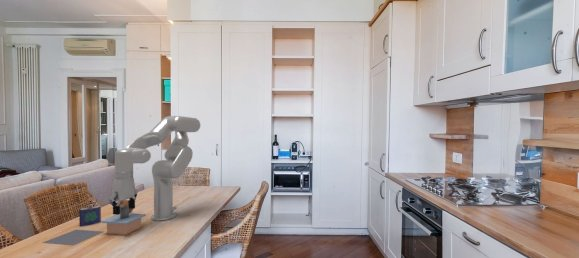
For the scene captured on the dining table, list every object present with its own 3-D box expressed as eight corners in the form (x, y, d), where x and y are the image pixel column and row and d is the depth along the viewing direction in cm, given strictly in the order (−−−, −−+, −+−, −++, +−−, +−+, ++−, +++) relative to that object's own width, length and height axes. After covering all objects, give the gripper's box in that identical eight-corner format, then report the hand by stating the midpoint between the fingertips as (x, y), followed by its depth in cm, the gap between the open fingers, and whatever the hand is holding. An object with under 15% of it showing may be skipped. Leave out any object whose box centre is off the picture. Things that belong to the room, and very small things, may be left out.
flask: (100, 222, 149) (100, 202, 149) (101, 223, 147) (101, 203, 147) (78, 226, 142) (78, 205, 142) (80, 228, 140) (80, 206, 140)
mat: (76, 230, 137) (76, 229, 137) (104, 232, 134) (104, 231, 134) (41, 244, 121) (41, 242, 121) (73, 246, 118) (73, 245, 118)
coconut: (119, 223, 157) (112, 209, 152) (116, 214, 164) (109, 201, 159) (137, 214, 162) (131, 200, 157) (134, 206, 169) (127, 193, 164)
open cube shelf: (123, 227, 141) (123, 215, 141) (140, 228, 140) (140, 216, 139) (106, 234, 131) (106, 221, 131) (125, 236, 130) (125, 223, 130)
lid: (122, 214, 143) (122, 202, 143) (145, 215, 141) (145, 204, 141) (101, 222, 130) (101, 210, 130) (126, 224, 128) (126, 211, 128)
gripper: (130, 172, 145) (130, 206, 145) (102, 178, 128) (102, 216, 128) (143, 172, 143) (143, 206, 143) (117, 179, 126) (117, 217, 126)
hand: (124, 211), depth 135 cm, fingers open, 9 cm apart
